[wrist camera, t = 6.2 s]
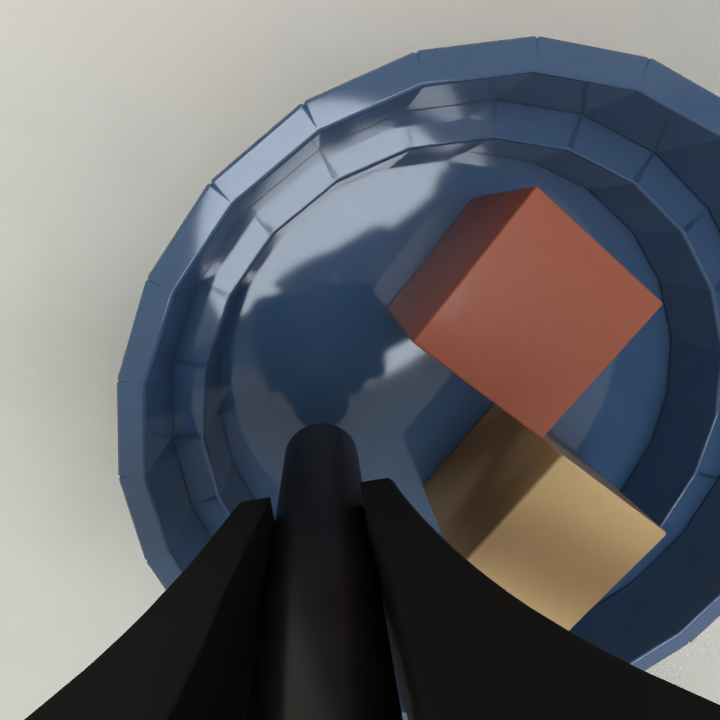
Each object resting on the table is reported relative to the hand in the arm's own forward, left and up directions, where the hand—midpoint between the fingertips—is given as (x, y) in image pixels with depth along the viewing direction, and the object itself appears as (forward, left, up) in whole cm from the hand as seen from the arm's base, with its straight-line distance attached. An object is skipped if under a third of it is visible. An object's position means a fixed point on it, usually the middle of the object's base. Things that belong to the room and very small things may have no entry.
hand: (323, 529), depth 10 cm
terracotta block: (-6, +1, -5) cm, 8 cm away
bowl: (-3, +3, -6) cm, 7 cm away
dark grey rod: (0, 0, -3) cm, 3 cm away
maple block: (-2, +6, -5) cm, 8 cm away
